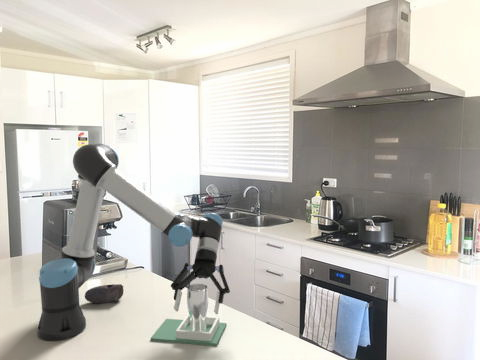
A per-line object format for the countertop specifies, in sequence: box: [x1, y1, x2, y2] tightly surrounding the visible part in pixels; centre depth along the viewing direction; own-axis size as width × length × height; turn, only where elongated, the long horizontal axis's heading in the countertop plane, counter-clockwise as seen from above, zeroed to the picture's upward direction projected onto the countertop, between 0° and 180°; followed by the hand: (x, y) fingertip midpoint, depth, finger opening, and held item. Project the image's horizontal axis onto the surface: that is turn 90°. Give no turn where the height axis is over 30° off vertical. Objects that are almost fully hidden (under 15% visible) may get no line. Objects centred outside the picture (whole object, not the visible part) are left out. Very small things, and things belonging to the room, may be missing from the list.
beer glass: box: [186, 283, 209, 332], centre depth 131 cm, size 7×7×15 cm
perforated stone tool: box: [84, 283, 124, 304], centre depth 158 cm, size 15×5×7 cm, turn 94°
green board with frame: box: [150, 314, 227, 347], centre depth 132 cm, size 22×14×3 cm, turn 79°
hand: (195, 311), depth 128 cm, fingers open, 13 cm apart
